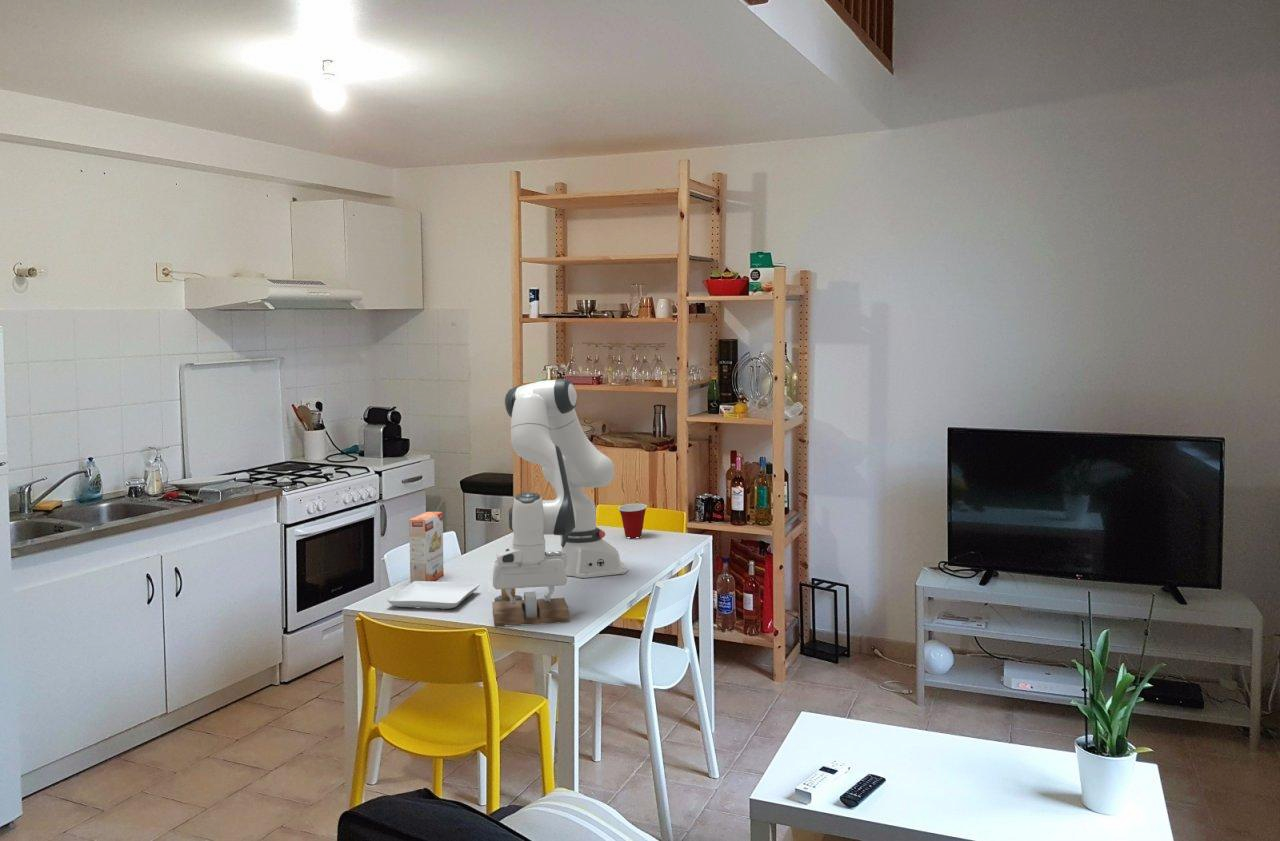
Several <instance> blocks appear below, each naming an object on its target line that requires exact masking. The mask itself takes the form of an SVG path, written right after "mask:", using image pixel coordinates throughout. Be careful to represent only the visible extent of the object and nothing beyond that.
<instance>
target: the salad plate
mask: <svg viewBox="0 0 1280 841" xmlns="http://www.w3.org/2000/svg"><path fill="white" fill-rule="evenodd" d="M479 587H480V583H473V582H471V583H470V582H455V581H436V580H435V581H414V582H412V583H411V582H410V583H409V584H408V585H406V586H405V587H403V588H402V589H401V590H399V591H398V592H396V593H395V594H393V595H392V596H391V597H389V598H388V599H387V600H386V602H387V603H389V604H390V605H392V606H394V607H397V608H398V607H400V608H405V607H420V608H419V609H427V608H441V609H440V610H449V609H454V608H456V607H457V606H458V605H460V604H461V603H462V602H463V601H464V600H466V599H467V598H468V597H469V596H471V595H472V594H473V593H474V592H475V591H477V590H478V589H479Z"/></svg>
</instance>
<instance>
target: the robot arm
mask: <svg viewBox="0 0 1280 841" xmlns="http://www.w3.org/2000/svg"><path fill="white" fill-rule="evenodd" d="M577 395H578V394H577V390H576V388H575V385H574V384H573V382H571V381H570V380H569V379H567V378H557V379H551V380H550V379H546V380H539V381H536V382H531V383H527V384H524V385H521V386H520V385H516V386H514V387H511V388H510V389H509V390H508V391H507V393H506V394H505V397H504V406H505V410H506V412H507V416H509V417H510V419H511V421H510V441H511V442H510V443H511V448H512V450H513V451H514V453H515V454H516V455H517V456H518V457H520V458H522V459H523V460H525V461H527V462H529V463H531V464H535V465H538V466H541V471H542V476H544V478H545V480H546V481H547V482H548V483H549V484H550V485H551V486H552V487H553V489H554V491H555V494H556V498H555V499H550V500H549V499H546V500H544V499H542V496H541V495H540V494H539V493H536V492H530V491H526V492H525V491H524V492H521V493H518V494H517V495H515V496H514V498H513V504H512V505H511V507H510V508H509V510H508V528H509V530H510V531H511V532H513V540H512V545H511V546H509V547H506V548H504V549H500V550H498V551H497V552H496V560H497V562H496V563H495V562H494V565H493V570H492V587H493V588H494V589H495V590H501V589H506V593H507V595H508V596H509V598H510V604H516V598H515V596H514V597H512V595H511V594H510V592H511V589H512V588H515V589H526V588H527V589H529V588H539V587H544V588H545V587H548V592H547V594H544V599H545V602H550V598H551V597H552V594H553V592H554V591H555V587H557V586H565V585H566V584H567V582H568V577H575V578H580V579H587V578H596V577H605V576H613V575H621V574H622V575H623V574H626V573H627V572H628V566H627V565H626V564H625V563H623V562H622V561H621V557H620V554H619V551H618V550H617V549H616V548H615V547H614V546H612V545H611V544H610V542H609V543H608V541H605V540H604V539H603V538H605V536H606V532H605V531H604V530H602V529H601V528H599V527H597V514H596V513H597V512H596V511H597V507H596V504H595V502H594V501H593V499H591V498H590V497H589V496H588V495H587V494H586V493H585V491H584V488H592V489H594V488H601V487H607V486H608V485H610V483H611V482H612V481H613V479H614V476H615V465H614V462H613V460H612V459H611V458H610V457H608V456H607V455H605V454H604V453H602V452H601V451H600V450H599V449H598V448H597V447H596V446H595V445H594V444H593V443H592V442H591V441H590V440H589V438H588V437H587V436H586V434H585V431H584V430H583V427H582V425H581V423H580V420H579V417H578V414H577V412H576V409H575V408H576V406H577V401H578V398H577V397H578V396H577ZM547 535H548V536H549V535H551V536H552V535H554V536H559V538H560V547H561V550H560V551H546V538H545V536H547ZM567 576H568V577H567Z"/></svg>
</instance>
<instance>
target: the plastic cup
mask: <svg viewBox="0 0 1280 841" xmlns="http://www.w3.org/2000/svg"><path fill="white" fill-rule="evenodd" d="M647 508H648V506H647V504H644V503H627V504H623V505H620V506H618V508H617V509H618V511H619V514H620V516H621V521H622V526H623V527H622V528H623V531H624V536H625V538H626V537H630V538H636V537H640V536H641V537H642V534H643V528H644V523H645V522H644V521H645V516H646V510H647Z"/></svg>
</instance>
